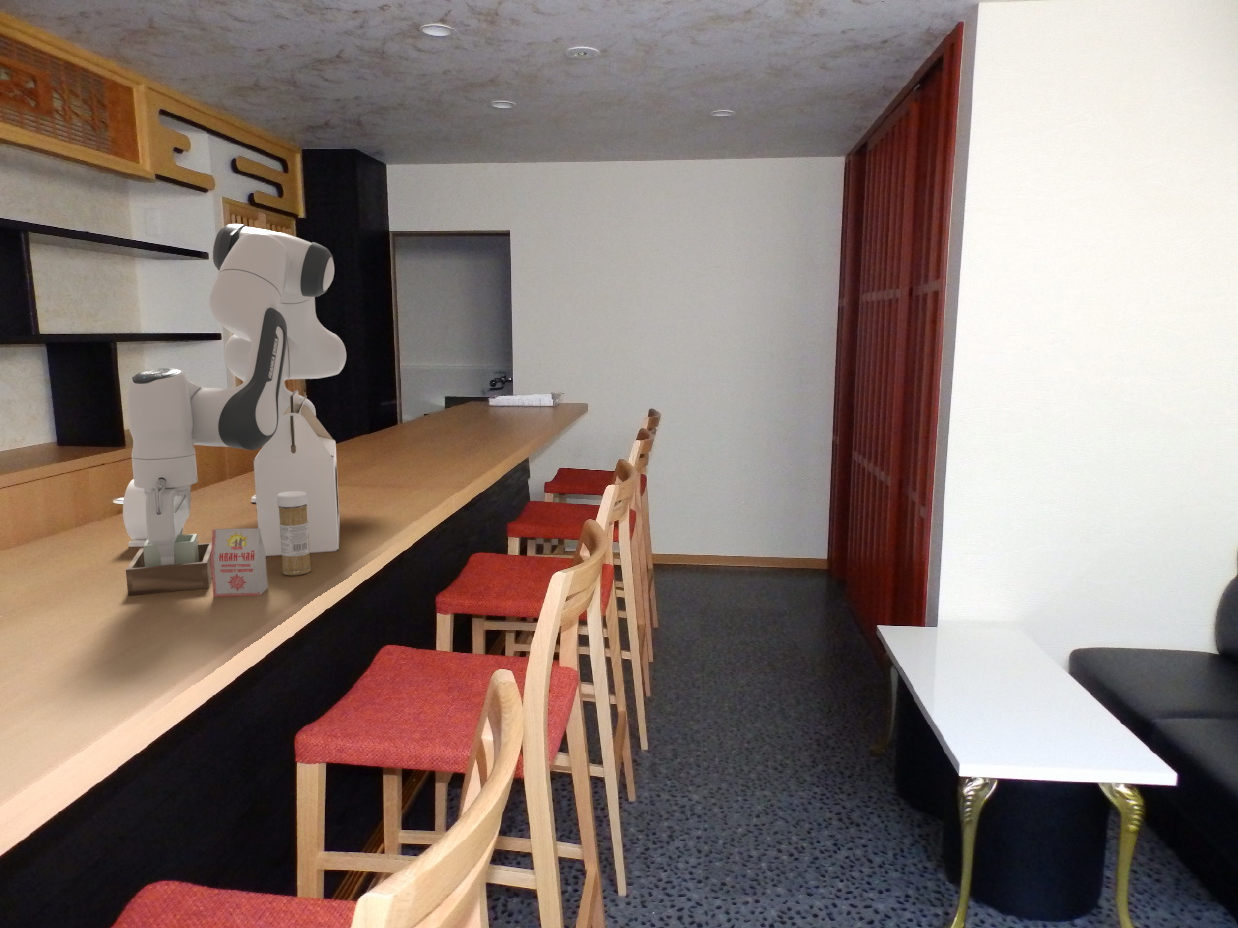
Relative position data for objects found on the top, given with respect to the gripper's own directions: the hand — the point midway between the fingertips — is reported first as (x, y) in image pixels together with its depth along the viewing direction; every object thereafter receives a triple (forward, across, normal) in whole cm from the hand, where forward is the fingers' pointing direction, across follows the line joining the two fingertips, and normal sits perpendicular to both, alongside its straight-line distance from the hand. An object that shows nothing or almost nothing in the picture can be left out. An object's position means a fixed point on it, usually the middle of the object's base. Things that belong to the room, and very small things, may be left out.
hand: (172, 558), depth 134 cm
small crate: (+3, 0, 0) cm, 3 cm away
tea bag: (+4, -10, -10) cm, 15 cm away
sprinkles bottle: (+4, -2, -18) cm, 19 cm away
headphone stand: (+4, +26, +8) cm, 28 cm away
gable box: (+4, +20, -20) cm, 28 cm away
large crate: (+4, 0, 0) cm, 4 cm away
